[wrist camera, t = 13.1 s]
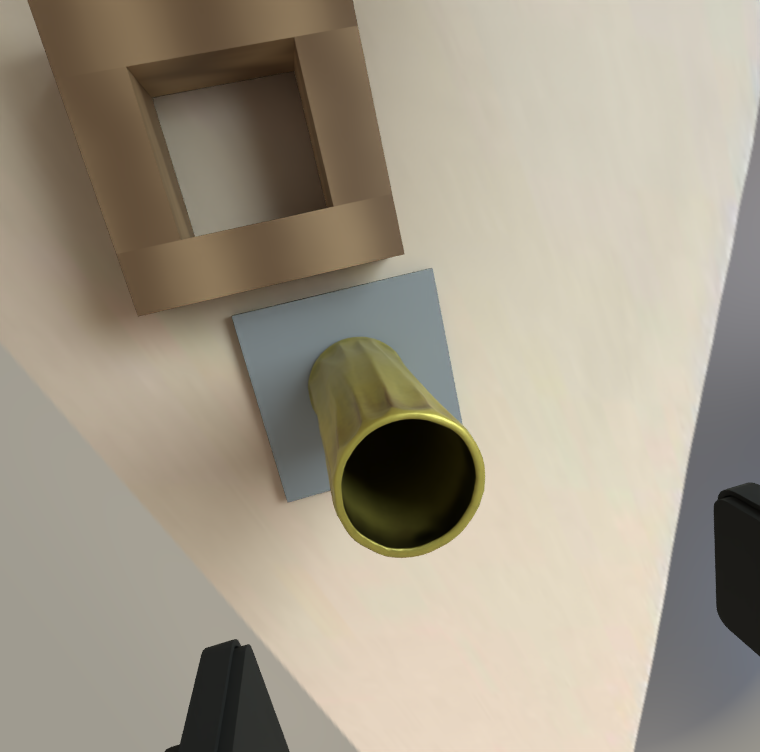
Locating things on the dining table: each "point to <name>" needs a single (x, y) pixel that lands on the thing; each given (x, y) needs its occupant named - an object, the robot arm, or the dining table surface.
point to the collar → (205, 69)
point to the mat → (318, 332)
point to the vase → (392, 451)
